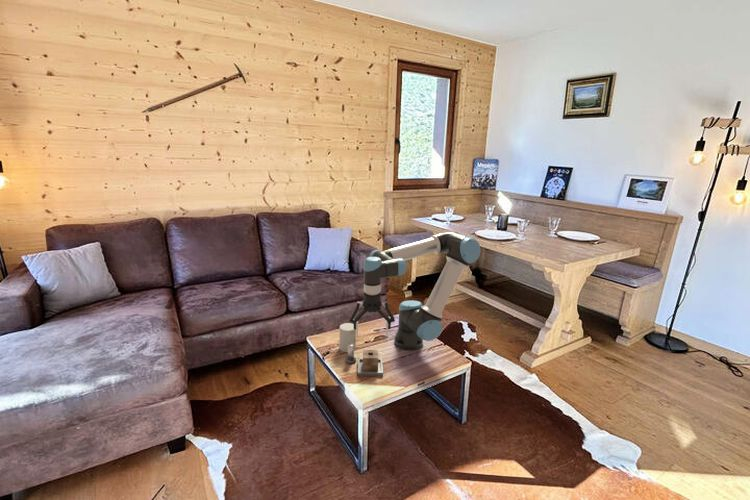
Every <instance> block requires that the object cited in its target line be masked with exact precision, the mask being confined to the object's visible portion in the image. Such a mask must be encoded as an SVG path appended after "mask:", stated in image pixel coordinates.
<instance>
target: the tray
mask: <svg viewBox="0 0 750 500" xmlns="http://www.w3.org/2000/svg"><path fill="white" fill-rule="evenodd" d="M357 361H358V362H357V363H358V364H357V376H358V377H383V376H384V368H383V367H384V366H383V359H382V358H378V372H363V358H357Z"/></svg>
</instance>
